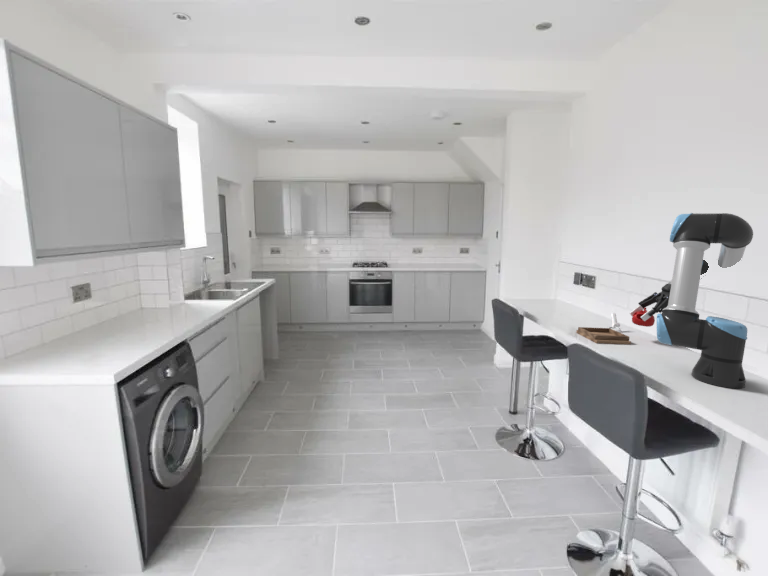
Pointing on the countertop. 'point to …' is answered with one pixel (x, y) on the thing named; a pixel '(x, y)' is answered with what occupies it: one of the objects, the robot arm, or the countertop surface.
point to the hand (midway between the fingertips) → (636, 317)
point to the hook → (615, 323)
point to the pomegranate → (638, 320)
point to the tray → (603, 335)
